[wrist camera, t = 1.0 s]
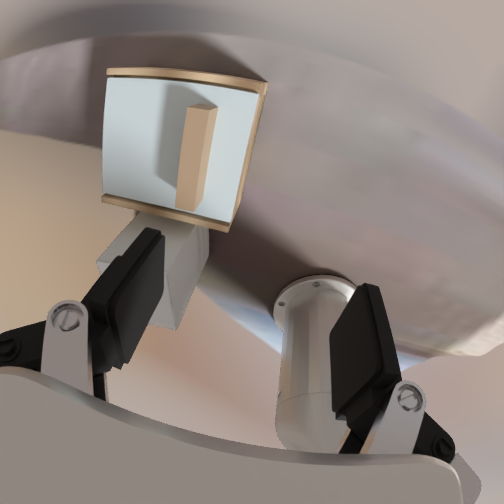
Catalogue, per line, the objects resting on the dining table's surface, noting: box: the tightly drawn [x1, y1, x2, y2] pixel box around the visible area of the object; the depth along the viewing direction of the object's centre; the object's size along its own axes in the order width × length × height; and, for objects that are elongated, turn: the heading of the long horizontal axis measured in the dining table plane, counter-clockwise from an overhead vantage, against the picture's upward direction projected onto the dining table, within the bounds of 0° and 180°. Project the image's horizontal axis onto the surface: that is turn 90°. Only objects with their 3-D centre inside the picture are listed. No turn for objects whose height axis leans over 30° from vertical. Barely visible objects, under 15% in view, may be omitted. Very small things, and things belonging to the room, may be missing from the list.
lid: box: [102, 77, 259, 223], centre depth 21 cm, size 13×11×3 cm
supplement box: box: [96, 211, 209, 330], centre depth 29 cm, size 7×7×13 cm
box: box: [102, 67, 268, 233], centre depth 24 cm, size 13×13×7 cm
